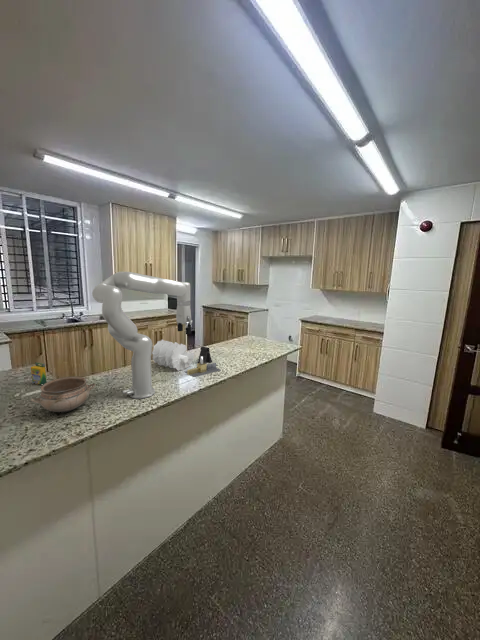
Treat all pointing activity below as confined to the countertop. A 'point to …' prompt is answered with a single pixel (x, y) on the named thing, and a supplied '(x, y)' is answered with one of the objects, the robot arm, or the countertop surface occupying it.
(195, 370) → the loose leaf
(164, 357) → the spiral staircase
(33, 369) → the crayon box
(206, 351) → the phone stand
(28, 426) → the countertop surface
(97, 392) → the countertop surface
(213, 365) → the fixed leaf
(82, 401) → the cooking pot
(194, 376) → the mat
